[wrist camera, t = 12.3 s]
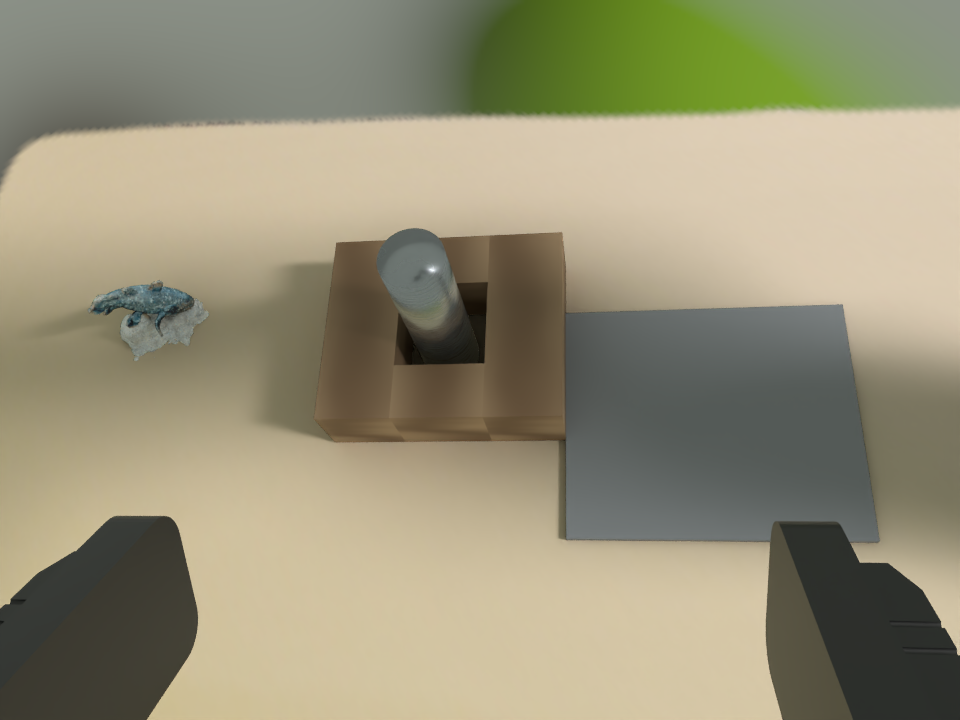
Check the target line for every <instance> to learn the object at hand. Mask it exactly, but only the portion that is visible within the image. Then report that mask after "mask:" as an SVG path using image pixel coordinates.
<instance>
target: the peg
mask: <svg viewBox="0 0 960 720" xmlns="http://www.w3.org/2000/svg"><path fill="white" fill-rule="evenodd" d="M376 264H377V270H378V272H379V275H380V277H381V279H382V280H383V282H384V284H385V286H386V288H387V290H388V292H389V294H390V296H391V298H392V300H393V302H394V304H395V306H396V308H397V310H398V312H399V314H400V316H401V318H402V320H403V322H404V324H405V325H406V327H407V329H408V331H409V333H410V335H411V337H412V339H413V341H414V343H415V345H416V347H417V349H418V351H419V353H420V355H421V357H422V359H423V361H424V363H425V365H433V364H476V363H477V362H478V360H479V354H480V353H479V346H478V343H477V340H476V337H475V335H474V332H473V329H472V326H471V323H470V320H469V317H468V315H467V312H466V309H465V306H464V303H463V300H462V297H461V295H460V292H459V289H458V286H457V283H456V280H455V277H454V275H453V272H452V269H451V266H450V263H449V260H448V257H447V255H446V252H445V249H444V246H443V244H442V242H441V240H440V239H439V238H438V237H437V236H436V235H435V234H433V233H431V232H430V231H427V230H424V229H418V228H413V229H406V230H402V231H400V232H397V233H395V234H394V235H392V236H391V237H389V238H388V239H387V240H386V241H385V242H384V244H383V245H382V246H381V248H380V250H379V252H378V255H377V263H376Z"/></svg>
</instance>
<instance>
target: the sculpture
mask: <svg viewBox="0 0 960 720" xmlns="http://www.w3.org/2000/svg"><path fill="white" fill-rule="evenodd" d="M202 304H203V302H200V301H199V300H198V299H197V298H196V299H195V300H194V298H192V297H191V296H190V295H188V294H187V293H184V292H181V291H179V290H178V289H173V288H168V287H163V282H162V281H160V280H158V281H156V282H155V281H154V282H153V283H151V284H150V285H138V286H130V287H126V288H121V289H118V290H115V291H112V292H110V293H108V294H106V295H105V294H101V295H98V296H96V298H95V299H94V300H93V302H92V305H91V307H90V308H89V310H88V312H89V313H91V312H92V313H94V314H95V315H97V314H100V313H102V312H103V311H104V315H108V314H109V313H110V312H112V310H113V309H116V308H120V307H123V308H126V309H129V310H133V311H135V312H133V314H128V315H127V316H125V317H124V319H123V320H122V323H121V326H120V327H121V330H120V335H121V338H122V340H123V341H125V342H126V343H128V344H129V346H130V347H131V348H132V349H131V351H133V354H135V355H134V356H138V357H139V356H141V355H142V356H143V355H144V354H145V353H147V352H149V351H150V352H153V351H155V350H156V349H158V348H161V347H162V345H165V343H166V342H168V341H169V343H168V344H170V343H171V342H172V344H178V343H177V342H178V341H180V342H181V343H183V344H184V345H186V346H188V345H190V336H192V334H194V333H193V328H192V327H194V325H196V324H197V323H199V324H200V323H201V322H202V321H204V320H205V318H207V317H208V316H209V313H208V312H207V311H204V309H203V306H202ZM175 339H177V340H176V341H175ZM138 357H135V358H134V359H133V360H135V361H138V360H139V358H138ZM154 358H155V357H154Z"/></svg>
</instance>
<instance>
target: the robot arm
mask: <svg viewBox="0 0 960 720" xmlns="http://www.w3.org/2000/svg"><path fill="white" fill-rule="evenodd" d="M197 626H198V612H197V606H196V602H195V597H194V593H193V589H192V584H191V580H190V576H189V571H188V567H187V563H186V558H185V554H184V550H183V546H182V541H181V537H180V533H179V530H178V527H177V525H176V523H175V522H174V520H172V519H171V518H170V517H167V516H115V517H112V518H110V519H109V520H108V521H107V522H105V523H104V524H103V525H102V526H101V527H100V528H99V529H98V530H97V531H96V532H95V533H94V534H93V535H92V536H91V537H90V538H89V539H88V540H87V541H86V542H85V543H84V544H83V545H82V546H81V547H80V548H79V549H78V550H77V551H74V552H73V553H71V554H69V555H68V556H66V557H64V558H63V559H61V560H59V561H58V562H56V563H54V564H53V565H51V566H49V567H48V568H46V569H44V570H43V571H41V572H39V573H38V574H36V575H35V576H34V577H33V578H32V579H31V580H30V581H29V582H28V583H27V584H26V585H25V586H24V587H23V588H22V589H21V590H20V591H19V592H18V593H17V594H15V595H14V596H13V597H12V598H11V602H10V604H5V605H4V606H3V607H2V608H1V609H0V720H147V718H148V717H149V715H150V714H151V712H152V711H153V709H154V708H155V706H156V705H157V703H158V702H159V700H160V699H161V697H162V696H163V694H164V693H165V691H166V690H167V688H168V687H169V685H170V684H171V682H172V681H173V679H174V678H175V676H176V675H177V673H178V672H179V670H180V669H181V667H182V666H183V664H184V663H185V661H186V660H187V658H188V656H189V655H190V653H191V650H192V648H193V645H194V642H195V638H196V634H197ZM766 646H767V656H768V663H769V669H770V674H771V678H772V682H773V686H774V689H775V693H776V697H777V700H778V704H779V708H780V711H781V715H782V719H783V720H960V655H957V648H956V646H955V645H954V643H953V641H952V640H951V638H950V636H949V634H948V633H947V631H946V629H945V628H942V627H941V621H940V619H939V618H938V616H937V614H936V612H935V611H934V609H933V607H932V606H931V604H930V602H929V601H928V599H927V597H926V596H925V594H924V592H923V590H921V589H920V588H919V587H918V586H916V585H915V584H914V583H913V582H911V581H910V580H909V579H907V578H906V577H905V576H904V575H902V574H901V573H900V572H899V571H897V570H896V569H895V568H893V567H892V566H891V565H890V564H888V563H860V562H859V560H858V558H857V556H856V554H855V552H854V550H853V548H852V546H851V544H850V542H849V540H848V538H847V536H846V534H845V532H844V530H843V528H842V527H841V525H840V524H839V523H838V522H836V521H775V522H774V523H773V526H772V531H771V540H770V558H769V576H768V594H767V612H766Z"/></svg>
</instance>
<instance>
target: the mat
mask: <svg viewBox="0 0 960 720" xmlns="http://www.w3.org/2000/svg"><path fill="white" fill-rule="evenodd" d="M775 521H836V522H838V523H839V524H840V525H841V527H842V528H843V530H844V532H845V534H846V536H847V538H848V540H849V542H856V543H878V542H879V541H880V540H879V533H878V527H877V521H876V514H875V508H874V501H873V495H872V489H871V482H870V476H869V470H868V463H867V457H866V450H865V444H864V438H863V431H862V425H861V419H860V412H859V406H858V400H857V393H856V387H855V380H854V374H853V368H852V361H851V355H850V349H849V342H848V336H847V330H846V323H845V317H844V310H843V305H812V306H780V307H748V308H716V309H684V310H652V311H620V312H588V313H566V540H624V541H740V542H770V540H771V531H772V526H773V523H774V522H775Z"/></svg>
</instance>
